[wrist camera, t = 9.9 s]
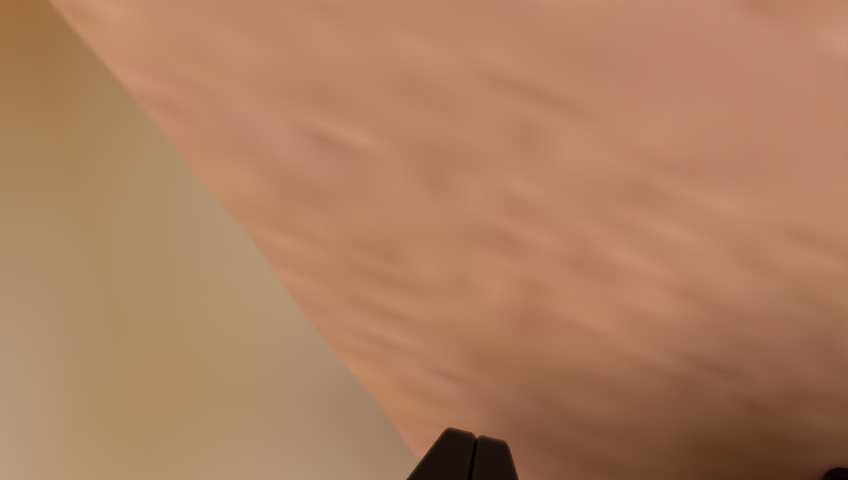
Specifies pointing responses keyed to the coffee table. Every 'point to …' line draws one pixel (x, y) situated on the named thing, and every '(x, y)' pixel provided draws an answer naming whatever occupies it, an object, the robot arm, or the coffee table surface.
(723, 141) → the coffee table surface
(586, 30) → the coffee table surface
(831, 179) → the coffee table surface
